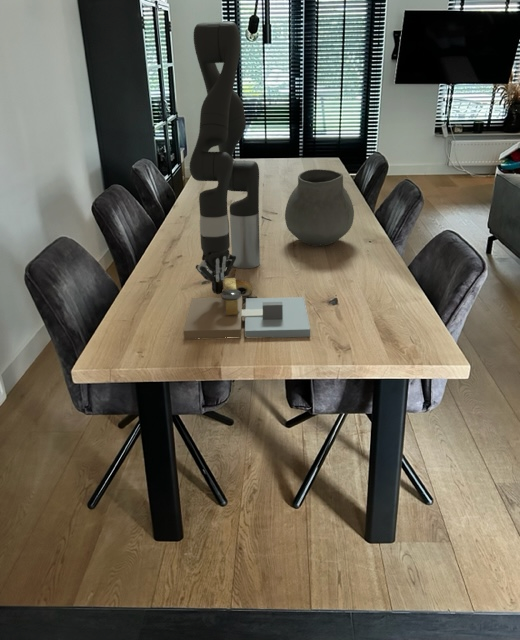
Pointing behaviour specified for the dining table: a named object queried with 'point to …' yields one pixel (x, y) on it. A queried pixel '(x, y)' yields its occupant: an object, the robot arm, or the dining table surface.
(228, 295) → the swing bar
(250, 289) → the pastry
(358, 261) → the dining table surface
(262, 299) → the door mock-up
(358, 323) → the dining table surface
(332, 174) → the ceramic pot
